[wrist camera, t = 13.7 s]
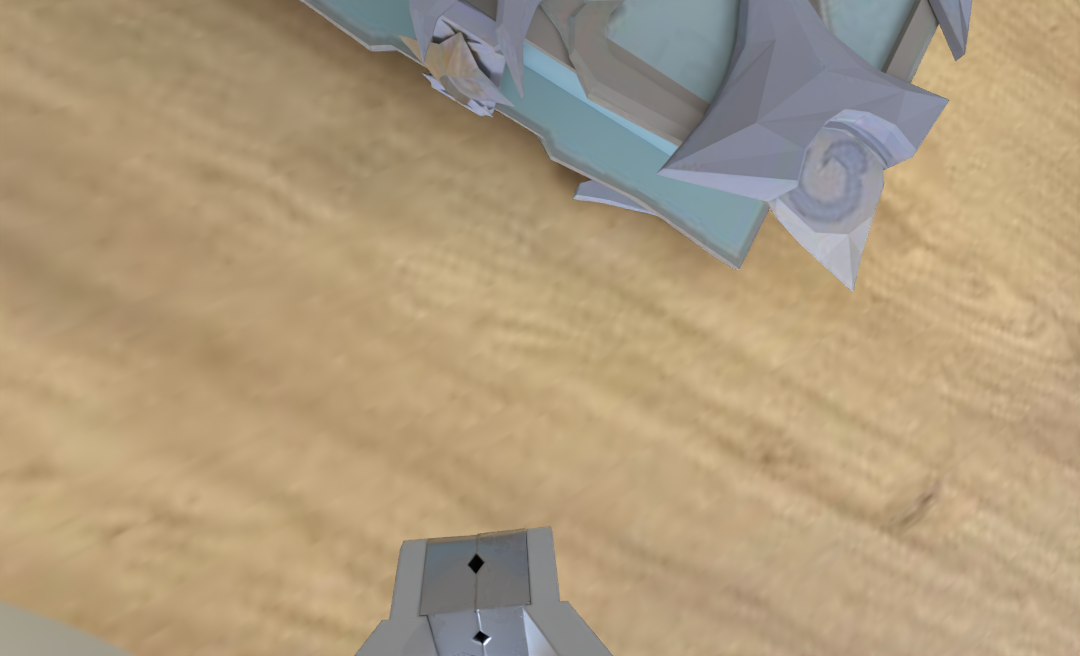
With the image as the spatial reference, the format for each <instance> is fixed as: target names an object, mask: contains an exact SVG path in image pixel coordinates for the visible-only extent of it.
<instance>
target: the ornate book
mask: <svg viewBox="0 0 1080 656" xmlns="http://www.w3.org/2000/svg"><path fill="white" fill-rule="evenodd" d="M300 1H301V2H303V3H304V4H306V5H307V6H309V7H310V8H312V9H313V10H314V11H316V12H317V13H319V14H320V15H321V16H323V17H324V18H325V19H327V20H328V21H330V22H331V23H332V24H334V25H335V26H337V27H338V28H339V29H341V30H342V31H344V32H345V33H346V34H348V35H349V36H351V37H352V38H353V39H355V40H356V41H357V42H359V43H360V44H362V45H363V46H364V47H366V48H367V49H369V50H370V51H378V52H401V53H402V54H404V55H406V56H407V57H409V58H411V59H412V60H414V61H416V62H417V63H419V64H421V65H422V66H424V67H426V68H427V69H428V70H429V72H430V73H431V75H430V74H424V73H422V74H423V75H424V76H425V77H426V78H427V79H428V80H429V81H430V82H431V87H432V88H434V89H436V90H437V91H439V92H441V93H442V94H444V95H446V96H447V97H449V98H451V99H452V100H454V101H455V102H457V103H459V104H461V105H462V106H464V107H466V108H467V109H469V110H471V111H472V112H474V113H476V114H477V115H479V116H481V117H482V116H485V115H488V116H490V117H492V118H494V117H493V115H492V114H491V113H493V112H494V110H497V111H498V112H500V113H502V114H503V115H505V116H506V117H508V118H510V119H511V120H513V121H515V122H516V123H518V124H520V125H521V126H523V127H525V128H526V129H528V130H530V131H531V132H533V133H535V134H536V136H537V137H538V139H539V141H540V142H541V144H542V146H543V148H544V149H545V151H546V153H547V154H548V156H549V158H550V159H551V160H553V161H555V162H557V163H559V164H561V165H563V166H565V167H567V168H569V169H572V170H574V171H576V172H578V173H580V174H582V175H584V176H586V177H588V178H590V179H592V180H590V181H587V182H583V183H580V184H579V186H578V187H577V188H576V190H575V193H574V196H573V199H576V200H583V201H591V202H599V203H604V204H608V205H613V206H617V207H622V208H626V209H630V210H635V211H639V212H643V213H648V214H652V215H656V216H658V217H660V218H661V219H663V220H664V221H665V222H667V223H668V224H670V225H671V226H672V227H674V228H675V229H677V230H678V231H679V232H681V233H682V234H683V235H685V236H686V237H688V238H689V239H690V240H692V241H693V242H694V243H696V244H697V245H699V246H700V247H701V248H703V249H704V250H705V251H707V252H708V253H710V254H711V255H712V256H714V257H715V258H717V259H718V260H720V261H722V262H723V263H725V264H726V265H728V266H730V267H731V268H733V269H735V270H737V269H740V267H741V265H742V263H743V261H744V259H745V257H746V255H747V253H748V251H749V249H750V247H751V245H752V243H753V241H754V239H755V237H756V235H757V233H758V231H759V229H760V227H761V225H762V223H763V221H764V219H765V217H766V215H767V213H768V211H769V209H770V208H771V209H772V211H773V213H774V215H775V217H776V218H777V219H778V220H779V221H780V222H781V223H782V224H783V226H784V227H785V228H786V229H787V230H788V231H789V232H790V233H791V234H792V235H793V237H794V238H795V239H796V240H797V241H798V242H799V243H800V244H801V245H802V246H803V247H804V248H805V249H806V250H807V251H808V252H809V253H811V254H812V255H813V256H814V257H815V258H816V259H817V260H818V261H819V262H820V263H821V264H822V265H823V266H824V267H826V268H827V269H828V270H829V271H830V272H831V273H832V274H833V275H834V276H835V277H836V278H838V279H839V280H840V281H841V282H842V283H843V284H844V285H845V286H846V287H847V288H848V289H850V290H851V291H852V292H853V290H854V286H855V282H856V277H857V273H858V268H859V264H860V260H861V255H862V252H863V249H864V245H865V242H866V239H867V236H868V232H869V229H870V226H871V223H872V219H873V216H874V213H875V210H876V207H877V204H878V201H879V198H880V195H881V192H882V190H883V187H884V176H883V170H884V169H887V168H889V167H891V166H894V165H896V164H898V163H900V162H902V161H905V160H907V159H909V158H911V157H913V155H914V154H915V152H916V151H917V149H918V147H919V146H920V144H921V143H922V141H923V140H924V138H925V137H926V135H927V134H928V132H929V130H930V129H931V127H932V126H933V124H934V123H935V121H936V120H937V118H938V117H939V115H940V113H941V112H942V110H943V109H944V107H945V106H946V104H947V103H948V101H949V100H948V99H946V98H943V97H941V96H939V95H936V94H934V93H932V92H929V91H927V90H924V89H922V88H920V87H917V86H915V85H913V84H910V83H911V81H912V79H913V77H914V75H915V73H916V71H917V68H918V66H919V64H920V62H921V60H922V58H923V56H924V54H925V52H926V50H927V47H928V45H929V43H930V41H931V39H932V37H933V35H934V33H935V31H936V29H937V26H938V24H940V27H941V29H942V31H943V34H944V36H945V38H946V41H947V43H948V45H949V47H950V50H951V52H952V54H953V57H954V59H955V61H957V60H958V59H959V58H961V57H962V56H963V55H964V54H965V50H966V43H967V37H968V30H969V22H970V14H971V6H972V0H300Z"/></svg>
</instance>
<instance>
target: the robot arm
mask: <svg viewBox="0 0 1080 656" xmlns="http://www.w3.org/2000/svg"><path fill="white" fill-rule="evenodd" d="M526 533H527V534H526ZM354 656H613V655H612V654H611V653H610V651H609V650H608V649H607V648H606V647H605V645H604V644H603V643H602V642H601V641H600V639H599V638H598V637H597V636H596V635H595V633H594V632H593V631H592V630H591V629H590V627H589V626H588V625H587V624H586V622H585V621H584V620H583V619H582V618H581V616H580V615H579V614H578V613H577V612H576V610H575V609H574V608H573V607H572V606H571V604H570V603H569V602H568V601H560V595H559V586H558V577H557V568H556V560H555V551H554V542H553V533H552V528H551V526H548V527H539V528H530V529H526V528H524V529H515V530H506V531H498V532H489V533H480V534H478V535H470V536H456V537H443V538H430V539H418V540H408V541H403V543H402V545H401V548H400V552H399V559H398V565H397V572H396V578H395V585H394V591H393V597H392V604H391V610H390V617H389V620H382V621H381V622H380V623H379V624H378V626H377V627H376V628H375V630H374V631H373V632H372V633H371V635H370V636H369V637H368V639H367V640H366V641H365V642H364V644H363V645H362V646H361V648H360V649H359V650H358V651H357V653H356V654H355V655H354Z"/></svg>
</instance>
